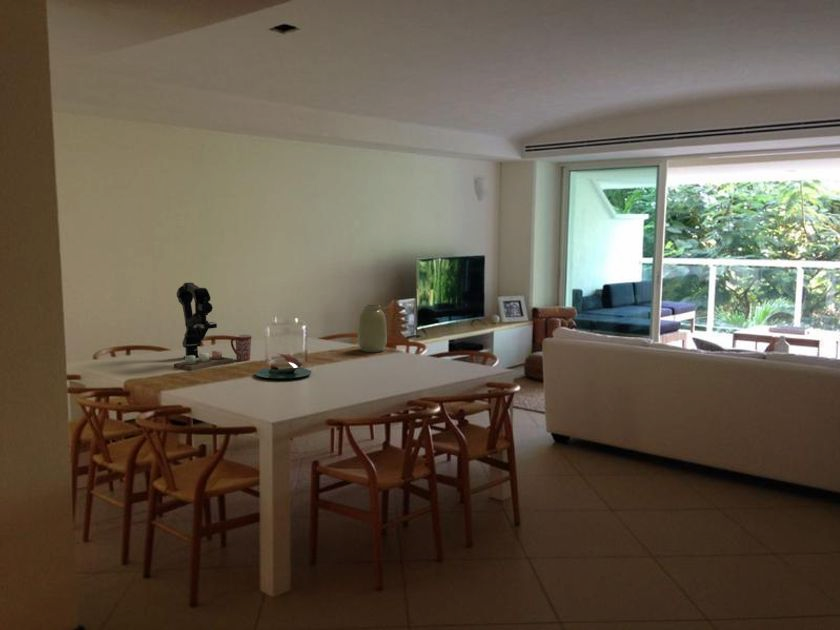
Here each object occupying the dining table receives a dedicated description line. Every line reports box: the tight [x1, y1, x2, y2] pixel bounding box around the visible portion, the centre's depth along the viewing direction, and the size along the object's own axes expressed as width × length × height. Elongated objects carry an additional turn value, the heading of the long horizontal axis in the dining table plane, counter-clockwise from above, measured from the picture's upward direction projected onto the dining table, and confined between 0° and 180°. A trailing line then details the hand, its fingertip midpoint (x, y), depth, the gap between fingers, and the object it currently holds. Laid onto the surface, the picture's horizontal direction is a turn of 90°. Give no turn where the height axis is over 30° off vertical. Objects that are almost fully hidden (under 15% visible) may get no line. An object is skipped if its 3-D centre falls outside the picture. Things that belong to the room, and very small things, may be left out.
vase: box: [357, 304, 388, 353], centre depth 440 cm, size 17×17×27 cm
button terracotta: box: [211, 350, 223, 360], centre depth 396 cm, size 5×5×4 cm
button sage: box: [184, 355, 197, 365], centre depth 381 cm, size 5×5×4 cm
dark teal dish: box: [254, 353, 312, 379], centre depth 365 cm, size 28×28×11 cm
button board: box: [173, 356, 234, 371], centre depth 389 cm, size 14×28×2 cm, turn 148°
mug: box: [230, 334, 252, 362], centre depth 405 cm, size 13×9×14 cm
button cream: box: [198, 352, 210, 362], centre depth 389 cm, size 5×5×4 cm
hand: (201, 340), depth 395 cm, fingers closed
